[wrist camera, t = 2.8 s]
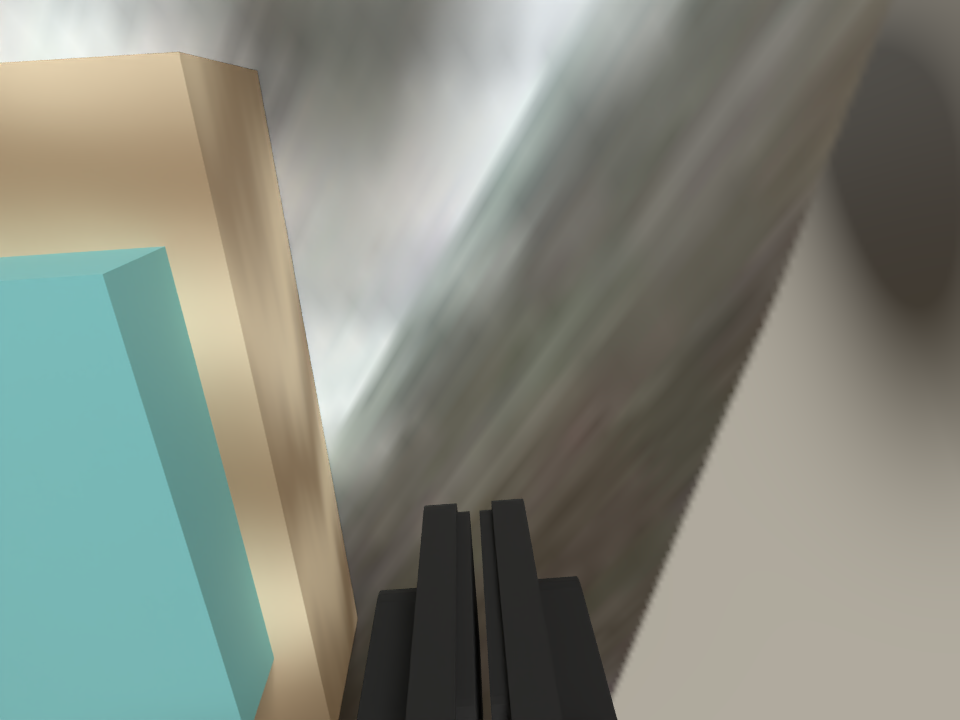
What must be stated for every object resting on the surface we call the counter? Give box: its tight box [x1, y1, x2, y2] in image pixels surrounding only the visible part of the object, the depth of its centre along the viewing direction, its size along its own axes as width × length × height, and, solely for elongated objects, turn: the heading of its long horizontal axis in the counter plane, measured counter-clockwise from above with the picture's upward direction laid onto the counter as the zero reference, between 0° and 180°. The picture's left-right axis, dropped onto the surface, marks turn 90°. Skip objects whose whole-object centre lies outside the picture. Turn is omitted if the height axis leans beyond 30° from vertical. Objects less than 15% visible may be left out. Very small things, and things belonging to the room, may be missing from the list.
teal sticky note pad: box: [0, 246, 274, 720], centre depth 11 cm, size 10×7×2 cm
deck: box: [0, 52, 358, 720], centre depth 14 cm, size 16×13×4 cm
